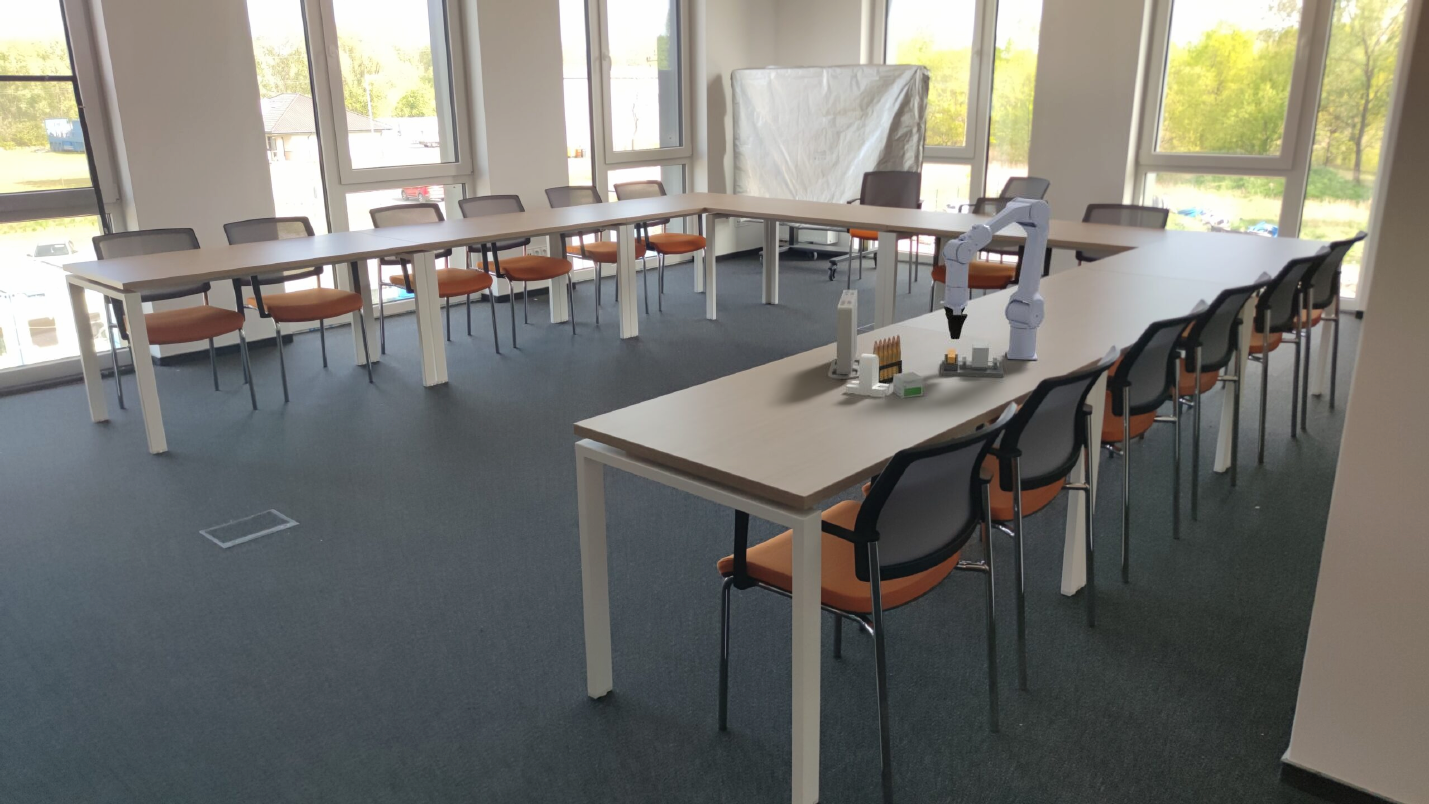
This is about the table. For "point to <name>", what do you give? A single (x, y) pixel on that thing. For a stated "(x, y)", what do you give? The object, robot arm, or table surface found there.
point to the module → (980, 355)
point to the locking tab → (951, 356)
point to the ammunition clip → (888, 359)
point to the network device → (846, 337)
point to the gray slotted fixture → (966, 364)
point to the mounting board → (973, 371)
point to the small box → (908, 384)
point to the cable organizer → (868, 378)
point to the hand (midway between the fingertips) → (954, 335)
